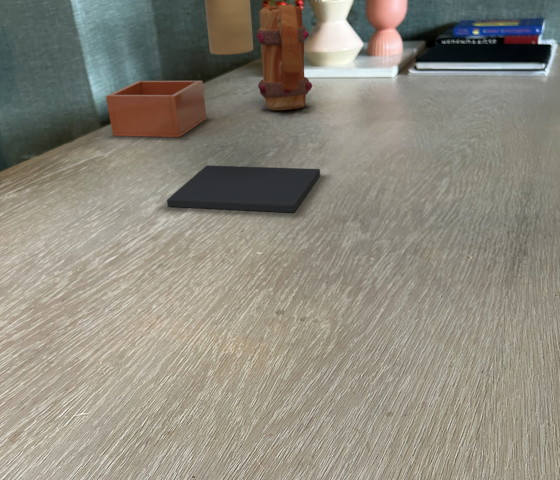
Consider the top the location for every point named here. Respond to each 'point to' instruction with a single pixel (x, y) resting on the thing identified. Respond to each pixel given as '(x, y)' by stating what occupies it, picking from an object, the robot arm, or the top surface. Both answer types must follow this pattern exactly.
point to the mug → (283, 57)
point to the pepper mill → (229, 26)
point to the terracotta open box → (156, 108)
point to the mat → (246, 188)
